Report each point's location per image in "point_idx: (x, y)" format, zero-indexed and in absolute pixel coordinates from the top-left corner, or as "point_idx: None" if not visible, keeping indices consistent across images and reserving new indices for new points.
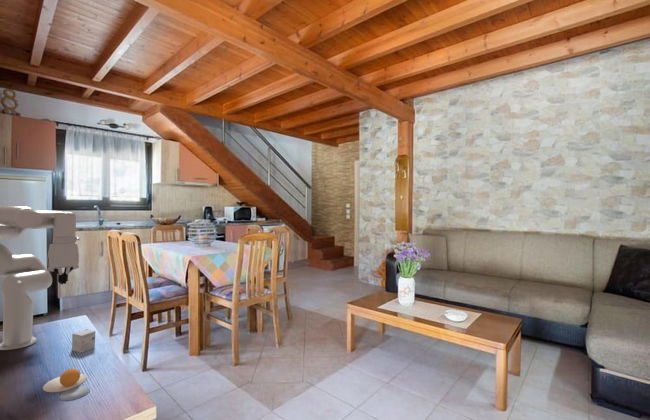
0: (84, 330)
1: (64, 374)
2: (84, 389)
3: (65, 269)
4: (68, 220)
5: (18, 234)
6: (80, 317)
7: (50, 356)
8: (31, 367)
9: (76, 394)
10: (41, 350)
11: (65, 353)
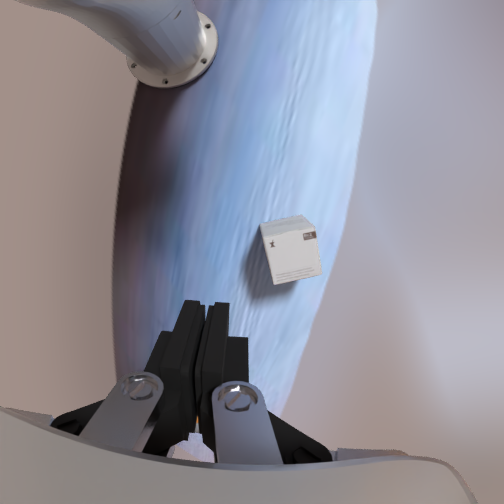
0: (303, 237)
1: None
2: None
3: (227, 446)
4: None
5: None
6: None
7: (205, 224)
8: (156, 264)
9: (197, 425)
10: (201, 151)
11: (239, 234)
